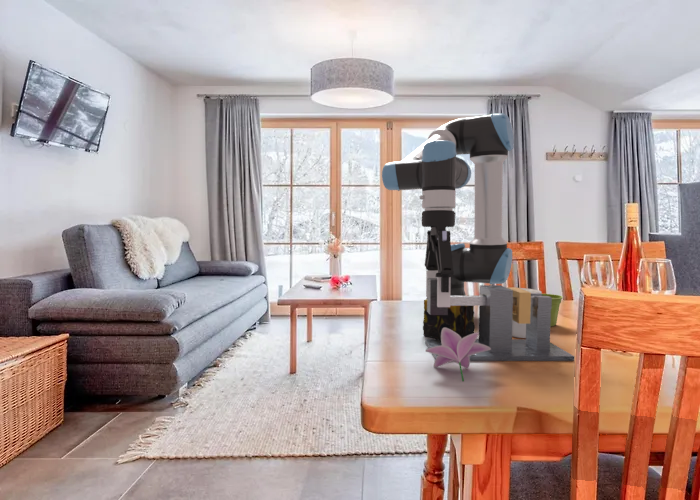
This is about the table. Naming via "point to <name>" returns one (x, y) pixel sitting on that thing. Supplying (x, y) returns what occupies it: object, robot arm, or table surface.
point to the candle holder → (519, 329)
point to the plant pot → (554, 307)
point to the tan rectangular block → (521, 306)
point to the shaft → (454, 300)
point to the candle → (449, 321)
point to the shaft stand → (499, 330)
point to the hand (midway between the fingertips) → (437, 301)
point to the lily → (456, 349)
